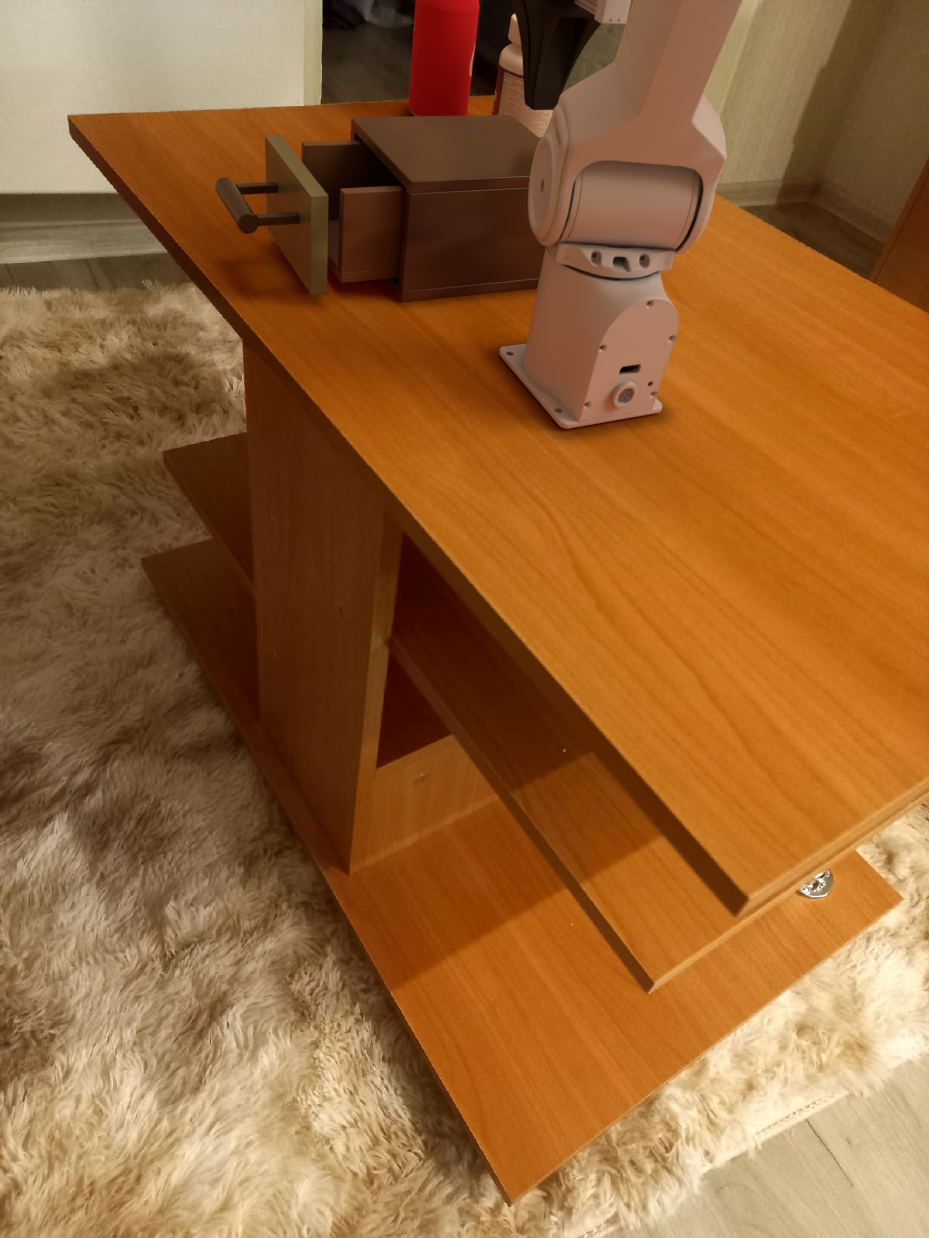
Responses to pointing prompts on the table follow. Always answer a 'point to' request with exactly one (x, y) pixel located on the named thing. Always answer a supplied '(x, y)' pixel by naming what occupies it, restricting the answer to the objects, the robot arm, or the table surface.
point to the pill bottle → (516, 87)
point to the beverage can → (442, 57)
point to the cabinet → (459, 202)
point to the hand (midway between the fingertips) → (539, 107)
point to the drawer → (326, 210)
